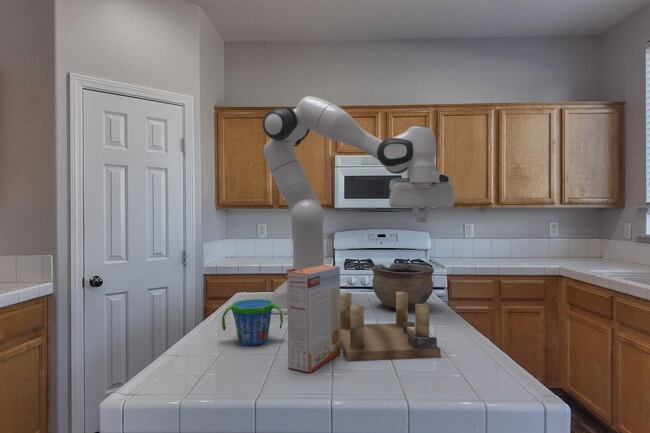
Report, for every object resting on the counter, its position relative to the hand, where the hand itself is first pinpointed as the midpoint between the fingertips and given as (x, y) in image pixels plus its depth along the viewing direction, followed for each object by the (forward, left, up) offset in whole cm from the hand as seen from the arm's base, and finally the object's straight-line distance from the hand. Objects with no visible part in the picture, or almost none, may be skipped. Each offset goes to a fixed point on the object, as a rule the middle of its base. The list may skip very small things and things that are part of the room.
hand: (421, 222), depth 118 cm
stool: (-18, -19, -31) cm, 41 cm away
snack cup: (-51, -14, -31) cm, 61 cm away
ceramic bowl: (0, +19, -31) cm, 37 cm away
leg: (-10, -22, -29) cm, 37 cm away
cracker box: (-36, -29, -31) cm, 56 cm away
